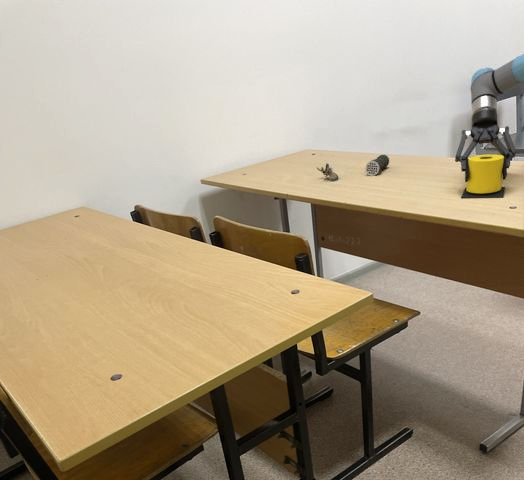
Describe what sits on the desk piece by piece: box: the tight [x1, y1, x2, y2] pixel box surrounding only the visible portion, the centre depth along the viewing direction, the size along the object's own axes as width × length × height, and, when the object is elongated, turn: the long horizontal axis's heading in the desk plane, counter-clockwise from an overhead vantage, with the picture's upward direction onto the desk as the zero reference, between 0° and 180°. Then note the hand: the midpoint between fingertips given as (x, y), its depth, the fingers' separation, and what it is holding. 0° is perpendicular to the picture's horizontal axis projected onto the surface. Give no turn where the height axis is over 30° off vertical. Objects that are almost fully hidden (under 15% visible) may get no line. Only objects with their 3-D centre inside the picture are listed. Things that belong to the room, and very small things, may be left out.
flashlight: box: [364, 154, 390, 177], centre depth 211 cm, size 15×5×5 cm, turn 152°
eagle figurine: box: [316, 163, 339, 182], centre depth 209 cm, size 8×7×9 cm
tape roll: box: [466, 153, 504, 193], centre depth 163 cm, size 10×10×9 cm
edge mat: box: [460, 186, 506, 199], centre depth 166 cm, size 12×12×1 cm
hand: (485, 178), depth 161 cm, fingers closed on tape roll, 10 cm apart
